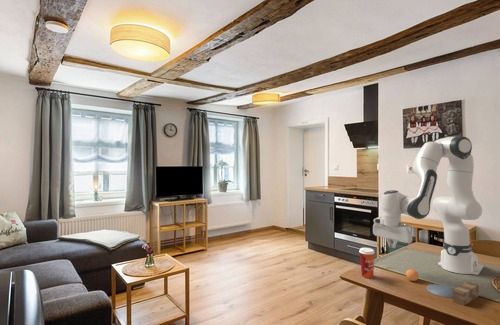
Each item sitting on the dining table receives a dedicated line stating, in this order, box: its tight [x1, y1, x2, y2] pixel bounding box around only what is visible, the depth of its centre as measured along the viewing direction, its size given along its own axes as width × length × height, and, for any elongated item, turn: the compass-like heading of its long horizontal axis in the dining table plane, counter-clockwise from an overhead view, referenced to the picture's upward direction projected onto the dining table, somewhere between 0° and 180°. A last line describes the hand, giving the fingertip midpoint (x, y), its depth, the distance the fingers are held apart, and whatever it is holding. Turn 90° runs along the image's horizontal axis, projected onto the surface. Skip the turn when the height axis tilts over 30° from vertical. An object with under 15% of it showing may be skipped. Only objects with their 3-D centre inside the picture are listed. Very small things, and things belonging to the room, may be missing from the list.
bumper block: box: [452, 281, 480, 306], centre depth 122 cm, size 14×4×5 cm, turn 121°
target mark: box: [425, 283, 455, 299], centre depth 130 cm, size 13×13×1 cm
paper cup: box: [358, 247, 376, 279], centre depth 148 cm, size 8×8×14 cm
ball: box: [405, 268, 419, 282], centre depth 142 cm, size 6×6×6 cm
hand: (392, 247), depth 150 cm, fingers closed
